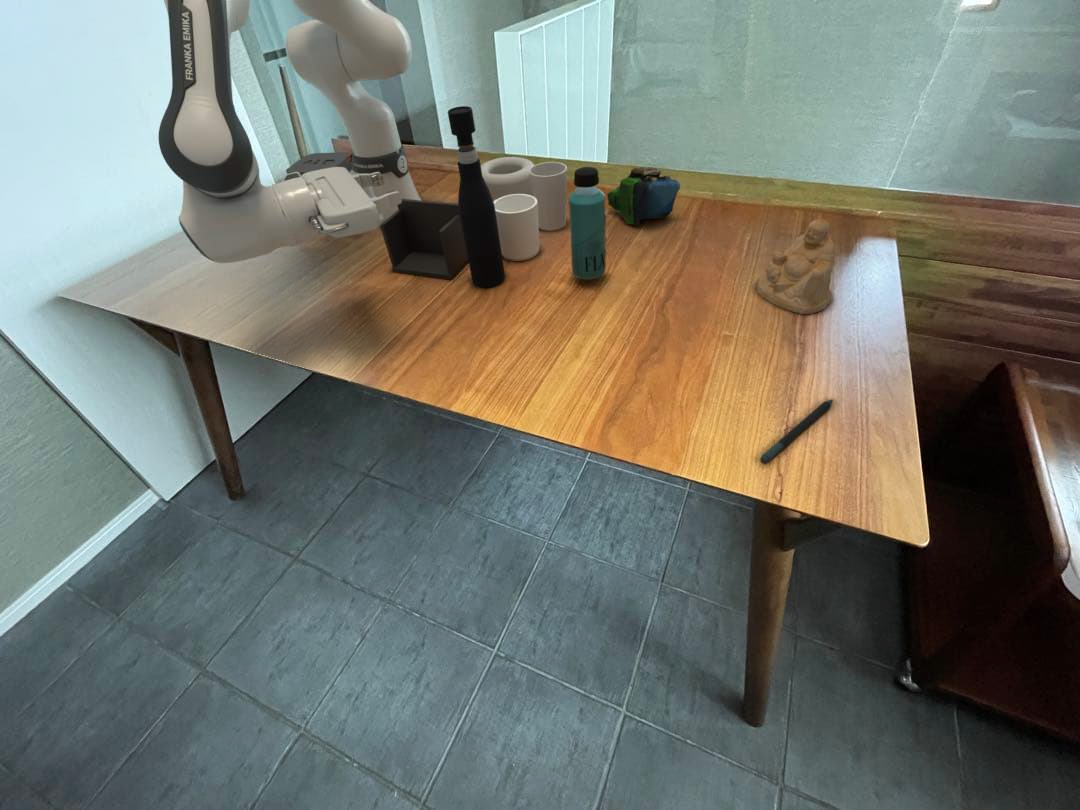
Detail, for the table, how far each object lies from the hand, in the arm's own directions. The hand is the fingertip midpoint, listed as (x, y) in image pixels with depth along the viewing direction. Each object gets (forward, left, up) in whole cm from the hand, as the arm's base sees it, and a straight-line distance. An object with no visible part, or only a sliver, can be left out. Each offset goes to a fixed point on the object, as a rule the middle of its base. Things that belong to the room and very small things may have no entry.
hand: (390, 186), depth 84 cm
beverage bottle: (+28, +15, -22) cm, 38 cm away
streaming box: (-61, +48, -22) cm, 81 cm away
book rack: (-5, +12, -22) cm, 25 cm away
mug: (+10, +22, -22) cm, 32 cm away
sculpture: (+31, +43, -22) cm, 57 cm away
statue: (+64, +18, -22) cm, 70 cm away
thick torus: (-4, +49, -22) cm, 54 cm away
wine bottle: (+9, +10, -22) cm, 26 cm away
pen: (+66, -15, -22) cm, 71 cm away
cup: (+13, +35, -22) cm, 43 cm away
